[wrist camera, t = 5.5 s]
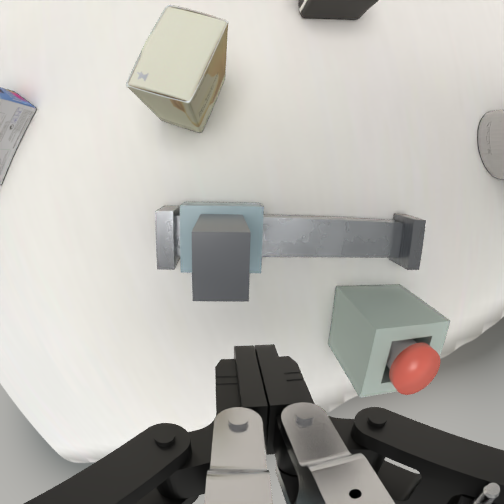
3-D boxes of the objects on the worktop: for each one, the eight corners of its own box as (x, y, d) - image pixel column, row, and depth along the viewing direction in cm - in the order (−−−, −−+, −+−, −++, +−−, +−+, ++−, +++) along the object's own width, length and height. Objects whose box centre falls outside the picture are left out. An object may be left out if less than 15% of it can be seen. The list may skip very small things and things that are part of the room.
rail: (405, 214, 32) (425, 220, 28) (400, 258, 33) (418, 269, 29) (164, 205, 29) (155, 211, 26) (165, 257, 31) (157, 269, 27)
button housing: (399, 284, 34) (450, 320, 24) (388, 339, 36) (429, 385, 26) (336, 286, 33) (376, 329, 23) (327, 345, 35) (359, 399, 25)
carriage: (259, 203, 30) (280, 221, 19) (257, 262, 31) (275, 311, 21) (184, 201, 29) (162, 219, 18) (184, 262, 31) (166, 310, 20)
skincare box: (202, 134, 28) (188, 110, 16) (159, 120, 27) (121, 90, 16) (227, 74, 27) (231, 18, 15) (185, 61, 26) (165, 2, 14)
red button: (393, 301, 32) (446, 345, 22) (385, 338, 33) (431, 389, 23) (356, 303, 32) (403, 353, 22) (349, 341, 33) (389, 398, 23)
